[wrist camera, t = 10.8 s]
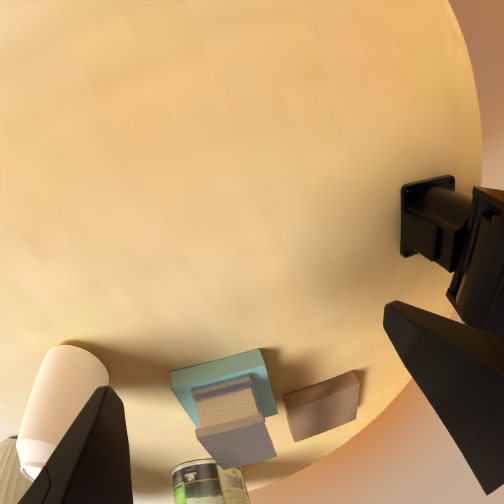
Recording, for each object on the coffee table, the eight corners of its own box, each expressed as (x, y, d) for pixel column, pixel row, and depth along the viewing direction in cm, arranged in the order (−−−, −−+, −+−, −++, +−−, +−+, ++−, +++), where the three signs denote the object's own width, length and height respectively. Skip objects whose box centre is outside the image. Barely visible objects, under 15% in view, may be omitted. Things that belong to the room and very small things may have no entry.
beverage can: (45, 373, 22) (16, 480, 11) (49, 328, 20) (5, 450, 9) (104, 394, 24) (94, 506, 13) (117, 353, 22) (102, 484, 12)
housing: (263, 415, 27) (277, 456, 22) (214, 427, 26) (223, 470, 22) (248, 373, 23) (263, 421, 19) (190, 388, 23) (196, 437, 18)
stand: (259, 348, 25) (264, 364, 23) (272, 399, 29) (278, 413, 27) (170, 371, 24) (171, 388, 22) (199, 418, 28) (201, 433, 26)
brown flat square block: (351, 370, 30) (360, 383, 28) (349, 407, 33) (355, 419, 32) (282, 396, 29) (287, 410, 27) (290, 429, 32) (294, 442, 31)
